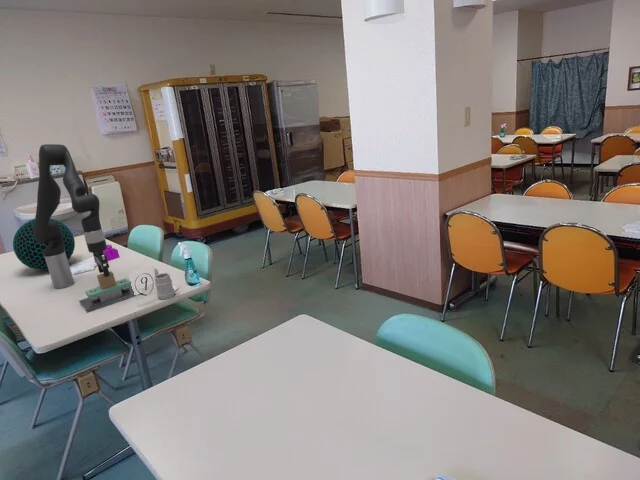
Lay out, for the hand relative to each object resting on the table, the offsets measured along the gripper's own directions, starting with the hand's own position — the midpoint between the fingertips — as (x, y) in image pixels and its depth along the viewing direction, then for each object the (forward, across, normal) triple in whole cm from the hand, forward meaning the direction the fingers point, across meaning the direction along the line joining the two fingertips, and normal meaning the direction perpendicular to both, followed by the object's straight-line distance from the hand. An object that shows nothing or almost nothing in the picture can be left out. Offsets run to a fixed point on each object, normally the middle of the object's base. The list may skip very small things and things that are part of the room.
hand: (104, 274), depth 201 cm
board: (+8, 0, 0) cm, 8 cm away
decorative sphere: (+13, +82, +11) cm, 84 cm away
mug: (+12, -18, -18) cm, 28 cm away
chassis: (+12, 0, 0) cm, 12 cm away
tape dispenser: (+13, +71, -17) cm, 75 cm away
